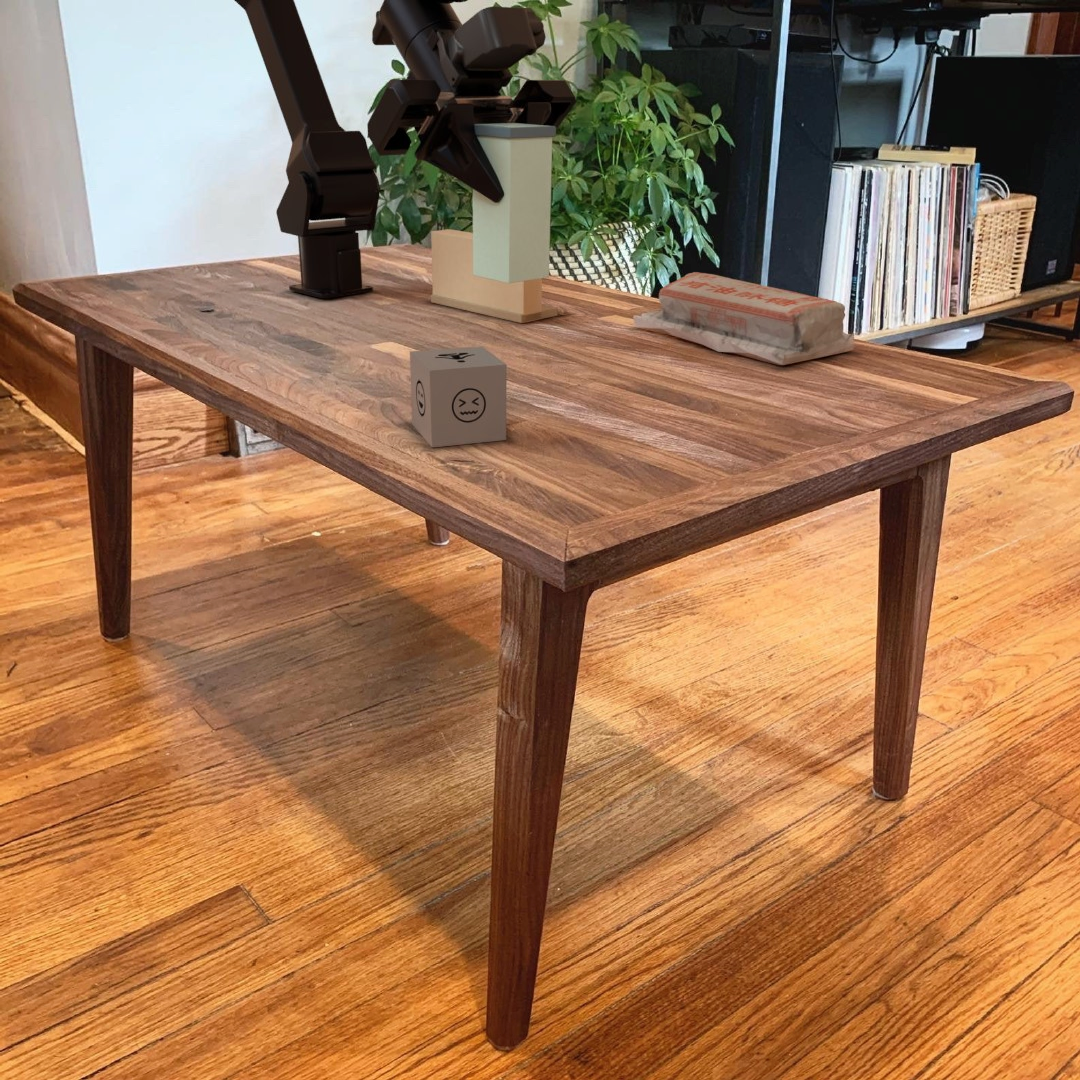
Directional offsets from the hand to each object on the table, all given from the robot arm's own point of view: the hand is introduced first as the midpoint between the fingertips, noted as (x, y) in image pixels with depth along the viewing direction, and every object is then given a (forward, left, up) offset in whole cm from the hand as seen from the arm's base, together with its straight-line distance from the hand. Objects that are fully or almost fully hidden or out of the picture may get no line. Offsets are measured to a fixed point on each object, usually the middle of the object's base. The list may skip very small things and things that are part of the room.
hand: (522, 197), depth 88 cm
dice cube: (+13, -20, -13) cm, 27 cm away
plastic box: (-1, 0, -7) cm, 7 cm away
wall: (-13, +8, -12) cm, 20 cm away
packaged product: (+11, +16, -13) cm, 24 cm away
